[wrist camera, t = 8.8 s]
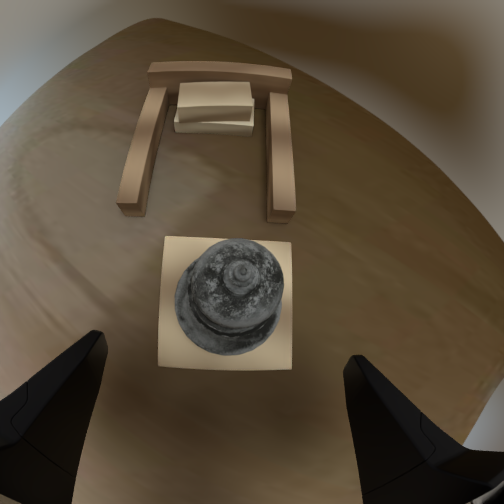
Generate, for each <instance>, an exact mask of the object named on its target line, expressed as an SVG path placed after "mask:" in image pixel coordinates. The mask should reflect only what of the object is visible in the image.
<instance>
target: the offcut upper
mask: <svg viewBox="0 0 504 504" xmlns="http://www.w3.org/2000/svg"><path fill="white" fill-rule="evenodd" d="M252 108H253V103H252V96H251V88H250V82H192V83H180V89H179V97H178V106H177V109H178V117H179V123H192V122H221V121H250V118H251V113H252Z"/></svg>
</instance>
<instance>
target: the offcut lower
mask: <svg viewBox="0 0 504 504" xmlns="http://www.w3.org/2000/svg"><path fill="white" fill-rule="evenodd" d="M252 103H253V108H252V113H251V118H250V121H221V122H192V123H179V117H178V109H177V112H176V115H175V119H174V127H175V133H206V134H223V135H237V136H248V137H251V136H252V131H253V126H254V99H252Z"/></svg>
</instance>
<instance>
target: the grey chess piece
mask: <svg viewBox="0 0 504 504" xmlns="http://www.w3.org/2000/svg"><path fill="white" fill-rule="evenodd" d="M283 289H284V277H283V272H282V269H281V267H280V264H279V262H278V261H277V259H276V258H275V256H274V255H273V254H272V253H271V252H270V251H269V250H268V249H267V248H265V247H264V246H262V245H261V244H259V243H257V242H255V241H251V240H247V239H243V238H233V239H227V240H223V241H220V242H218V243H216V244H214V245H212V246H211V247H209V248H208V249H207V250H206V251H205V252H204V253H203V254H202V255H201V256H200V257H199V258H198V259H196V260H194V261H193V262H192V263H191V264H190V265H189V266H188V267H187V269H186V270H185V271H184V272H183V274H182V276H181V278H180V280H179V281H178V284H177V288H176V292H175V312H176V316H177V319H178V323H179V325H180V326H181V328H182V330H183V331H184V333H185V334H186V336H187V337H188V338H189V339H190V340H191V341H192V342H193V343H194V344H196V345H197V346H198V347H200V348H202V349H204V350H206V351H208V352H210V353H214V354H218V355H223V356H231V355H240V354H243V353H247V352H250V351H252V350H254V349H255V348H257V347H258V346H260V345H262V344H263V343H264V342H265V341H266V340H267V339H268V338H269V337H270V335H271V334H272V333H273V332H274V330H275V328H276V326H277V324H278V322H279V319H280V314H281V309H282V300H281V299H282V295H283Z"/></svg>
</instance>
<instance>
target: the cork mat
mask: <svg viewBox="0 0 504 504" xmlns="http://www.w3.org/2000/svg"><path fill="white" fill-rule="evenodd" d="M223 240H227V239H218V238H197V237H175V236H165V242H164V252H163V263H162V275H161V288H160V305H159V329H158V366H163V367H174V368H188V369H206V370H285V369H292V260H291V242H276V241H257V240H251V241H255V242H257V243H259V244H261V245H262V246H264V247H265V248H267V249H268V250H269V251H270V252H271V253H272V254H273V255H274V256H275V258H276V259H277V261H278V262H279V264H280V267H281V269H282V272H283V277H284V289H283V295H282V299H281V300H282V309H281V314H280V319H279V322H278V324H277V326H276V328H275V330H274V332H273V333H272V334H271V335H270V337H269V338H268V339H267V340H266V341H265V342H264V343H263V344H262V345H260V346H258V347H257V348H255V349H254V350H252V351H250V352H247V353H243V354H240V355H231V356H223V355H218V354H214V353H210V352H208V351H206V350H204V349H202V348H200V347H198V346H197V345H196V344H194V343H193V342H192V341H191V340H190V339H189V338H188V337H187V336H186V334H185V333H184V331H183V330H182V328H181V326H180V325H179V323H178V319H177V316H176V312H175V292H176V288H177V284H178V281H179V280H180V278H181V276H182V274H183V272H184V271H185V270H186V269H187V267H188V266H189V265H190V264H191V263H192V262H193V261H194V260H196V259H198V258H199V257H200V256H201V255H202V254H203V253H204V252H205V251H206V250H207V249H208V248H209V247H211V246H212V245H214V244H216V243H218V242H220V241H223Z"/></svg>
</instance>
